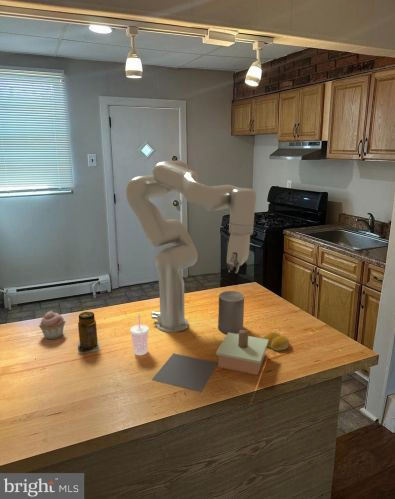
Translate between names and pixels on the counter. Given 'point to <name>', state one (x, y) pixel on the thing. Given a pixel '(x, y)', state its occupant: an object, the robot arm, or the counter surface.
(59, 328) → the cupcake
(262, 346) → the lid
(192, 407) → the counter surface
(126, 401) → the counter surface
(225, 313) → the pillar candle
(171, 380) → the mat
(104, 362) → the counter surface
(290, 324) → the counter surface
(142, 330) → the beverage cup
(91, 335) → the condiment
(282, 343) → the bread roll
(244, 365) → the open box
